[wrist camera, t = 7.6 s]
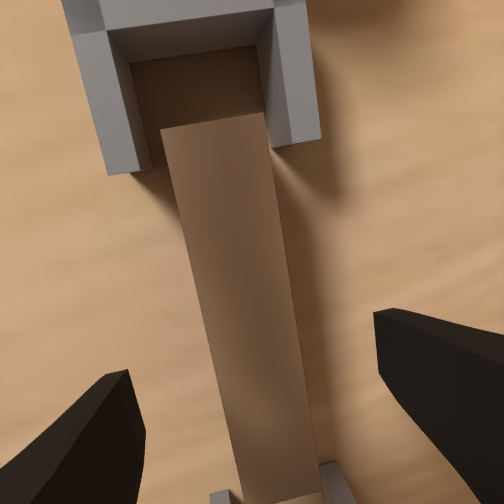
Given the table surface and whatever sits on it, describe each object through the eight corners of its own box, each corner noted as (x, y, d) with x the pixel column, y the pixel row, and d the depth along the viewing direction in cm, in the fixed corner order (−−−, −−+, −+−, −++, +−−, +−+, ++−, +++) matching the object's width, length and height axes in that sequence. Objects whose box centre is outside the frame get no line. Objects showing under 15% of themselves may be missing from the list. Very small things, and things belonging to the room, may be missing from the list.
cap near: (128, 172, 15) (108, 175, 11) (93, 32, 14) (57, -13, 10) (293, 144, 16) (321, 138, 12) (275, 7, 14) (300, -43, 11)
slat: (234, 421, 19) (247, 511, 14) (171, 140, 15) (160, 129, 10) (290, 407, 19) (322, 490, 14) (242, 127, 15) (263, 111, 11)
